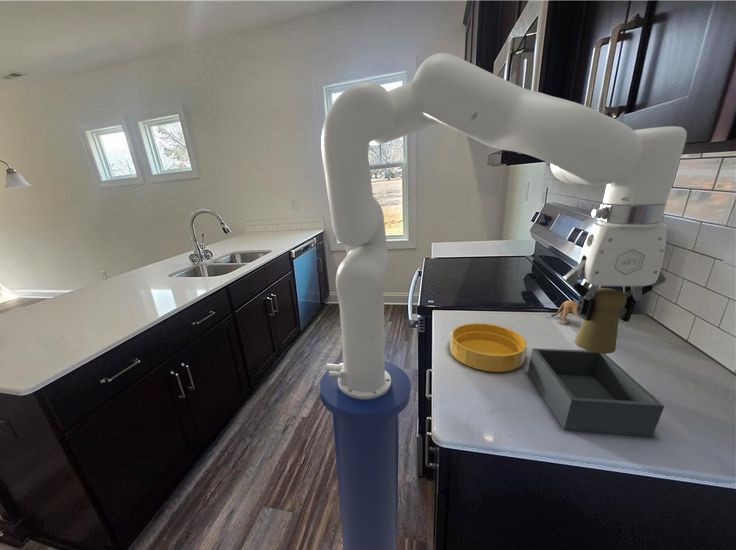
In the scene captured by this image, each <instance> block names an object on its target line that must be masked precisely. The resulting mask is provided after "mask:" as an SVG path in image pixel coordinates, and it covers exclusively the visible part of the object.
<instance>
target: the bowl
mask: <svg viewBox="0 0 736 550" xmlns="http://www.w3.org/2000/svg"><path fill="white" fill-rule="evenodd" d="M527 343H528V342H527V341H526V339H525V338H524V337H523V336H522V335H521V334H519V333H518V332H517V331H515V330H513V329H510V328H507V327H504V326H501V325H497V324H492V323H486V322H472V323H465V324H461V325H458V326H456V327H455V328H454V329H452V331H451V333H450V342H449V351H450V354H451V355H452V356H453V357H454V358H455V360H457V361H459V362H460V363H462V364H463V365H465V366H468V367H470V368H472V369H475V370H481V371H484V372H492V373H493V372H494V373H503V372H512V371H515V370H517V369H520V368H521V366H522V365H523V364H524V363H525V357H526V354H527V353H526V352H527V348H528V345H527Z"/></svg>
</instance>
